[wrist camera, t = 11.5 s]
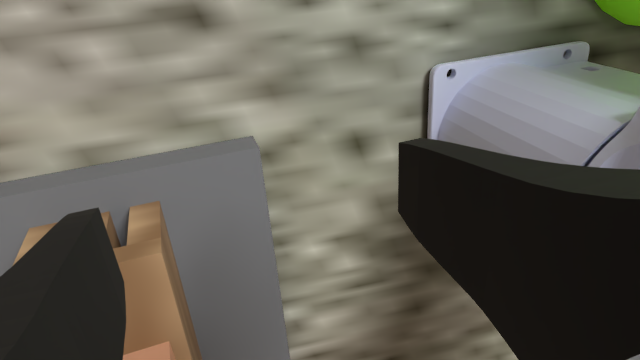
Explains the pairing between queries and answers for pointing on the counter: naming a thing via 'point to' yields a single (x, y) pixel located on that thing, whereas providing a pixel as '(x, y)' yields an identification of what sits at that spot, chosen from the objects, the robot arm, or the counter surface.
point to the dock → (180, 234)
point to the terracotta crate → (152, 353)
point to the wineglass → (622, 10)
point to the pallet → (146, 282)
